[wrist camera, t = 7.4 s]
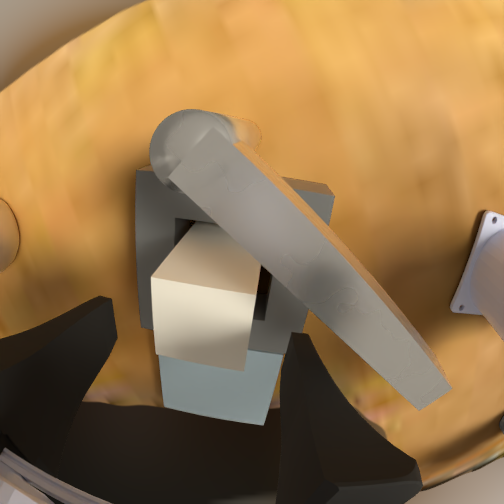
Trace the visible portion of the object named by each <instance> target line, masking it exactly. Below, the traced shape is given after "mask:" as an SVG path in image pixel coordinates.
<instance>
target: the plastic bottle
mask: <svg viewBox="0 0 504 504" xmlns="http://www.w3.org/2000/svg"><path fill="white" fill-rule="evenodd" d="M18 247H19V231H18V226H17V222H16V220H15V217H14V215H13V213H12V211H11V209H10V208H9V206H8V205H7V204H6V203H5V202H4V201H3V200H1V199H0V273H1V272H3V271H4V270H5V269H6V268H7V267H8V266H9V265H10V264H11V262H12V261H13V260H14V259H15V257H16V254H17V250H18Z"/></svg>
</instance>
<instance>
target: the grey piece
mask: <svg viewBox="0 0 504 504" xmlns="http://www.w3.org/2000/svg"><path fill="white" fill-rule="evenodd" d="M260 142H261V131H260V129H259V127H258V126H257V125H256V124H255V123H254V122H252V121H250V120H247V119H242V118H238V117H233V116H228V115H223V114H218V113H213V112H208V111H202V110H196V109H187V110H182V111H178V112H176V113H174V114H172V115H170V116H168V117H167V118H166V119H164V120H163V121H162V122H161V123H160V124H159V126H158V127H157V129H156V130H155V132H154V134H153V136H152V139H151V143H150V150H149V152H150V162H151V165H152V168H153V171H154V172H155V174H156V176H157V177H158V179H159V180H160V181H161V182H162V183H163V184H164V185H165V186H167V187H168V188H170V189H171V190H173V191H176V192H178V193H182V194H186V195H187V196H188V197H189V198H191V199H192V200H193V201H194V202H195V203H196V204H197V205H198V206H199V207H200V208H201V209H202V210H203V211H204V212H205V213H207V214H208V215H209V216H210V217H211V218H212V219H213V220H214V221H215V222H216V223H217V224H218V225H219V226H220V227H222V228H223V229H224V230H225V231H226V232H227V233H228V234H229V235H230V236H231V237H232V238H233V239H234V240H235V241H237V242H238V243H239V244H240V245H241V246H242V247H243V248H244V249H245V250H246V251H247V252H248V253H249V254H250V255H252V256H253V257H254V258H255V259H256V260H257V261H258V262H259V263H260V264H261V265H262V266H263V267H264V268H265V269H267V270H268V271H269V272H270V273H271V274H272V275H273V276H274V277H275V278H276V279H277V280H278V281H279V282H281V283H282V284H283V285H284V286H285V287H286V288H287V289H288V290H289V291H290V292H291V293H292V294H293V295H294V296H296V297H297V298H298V299H299V300H300V301H301V302H302V303H303V304H304V305H305V306H306V307H307V308H308V309H310V310H311V311H312V312H313V313H314V314H315V315H316V316H317V317H318V318H319V319H320V320H321V321H322V322H324V323H325V324H326V325H327V326H328V327H329V328H330V329H331V330H332V331H333V332H334V333H335V334H336V335H338V336H339V337H340V338H341V339H342V340H343V341H344V342H345V343H346V344H347V345H348V346H349V347H351V348H352V349H353V350H354V351H355V352H356V353H357V354H358V355H359V356H360V357H361V358H362V359H363V360H365V361H366V362H367V363H368V364H369V365H370V366H371V367H372V368H373V369H374V370H375V371H376V372H378V373H379V374H380V375H381V376H382V377H383V378H384V379H385V380H386V381H387V382H388V383H389V384H391V385H392V386H393V387H394V388H395V389H396V390H397V391H398V392H399V393H400V394H401V395H402V396H404V397H405V398H406V399H407V400H408V401H409V402H410V403H411V404H412V405H413V406H414V407H415V408H417V409H418V410H419V411H420V410H421V409H423V408H424V407H426V406H427V405H429V404H431V403H432V402H434V401H435V400H437V399H438V398H440V397H441V396H443V395H444V394H445V393H447V392H448V391H450V390H451V389H452V387H451V385H450V383H449V381H448V378H447V376H446V374H445V372H444V370H443V368H442V366H441V364H440V363H439V361H438V359H437V357H436V355H435V354H434V353H433V351H432V350H431V349H430V347H429V346H428V345H427V343H426V342H425V341H424V339H423V338H422V337H421V335H420V334H419V333H418V332H417V330H416V329H415V328H414V326H413V325H412V324H411V323H410V321H409V320H408V319H407V318H406V316H405V315H404V314H403V313H402V311H401V310H400V309H399V308H398V306H397V305H396V304H395V303H394V301H393V300H392V299H391V298H390V297H389V295H388V294H387V293H386V292H385V291H384V289H383V288H382V287H381V286H380V285H379V283H378V282H377V281H376V280H375V279H374V277H373V276H372V275H371V274H370V273H369V272H368V270H367V269H366V268H365V267H364V266H363V265H362V264H361V262H360V261H359V260H358V259H357V258H356V257H355V256H354V254H353V253H352V252H351V251H350V250H349V249H348V248H347V246H346V245H345V244H344V243H343V242H342V241H341V240H340V239H339V238H338V236H337V235H336V234H335V233H334V232H333V231H332V230H331V229H330V228H329V227H328V226H327V224H326V223H325V222H324V221H323V220H322V219H321V218H320V217H319V216H318V215H317V214H316V213H315V212H314V211H313V210H312V208H311V207H310V206H309V205H308V204H307V203H306V202H305V201H304V200H303V199H302V198H301V197H300V196H299V195H298V194H297V193H296V192H295V191H294V190H293V189H292V188H291V187H290V186H289V185H288V184H287V183H286V182H285V181H284V180H283V179H282V178H281V177H280V176H279V175H278V174H277V173H276V172H275V171H274V170H273V169H272V168H271V167H270V166H269V165H268V164H267V163H266V162H265V161H264V160H263V159H262V158H261V157H260V156H259V155H258V154H257V153H256V152H255V150H256V149H257V148H258V146H259V145H260Z"/></svg>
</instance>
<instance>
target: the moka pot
mask: <svg viewBox="0 0 504 504" xmlns="http://www.w3.org/2000/svg"><path fill="white" fill-rule="evenodd" d="M499 427H500V429H501V431H502V432H503V434H504V416H503V417H502V419H501V421H500V424H499Z"/></svg>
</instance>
